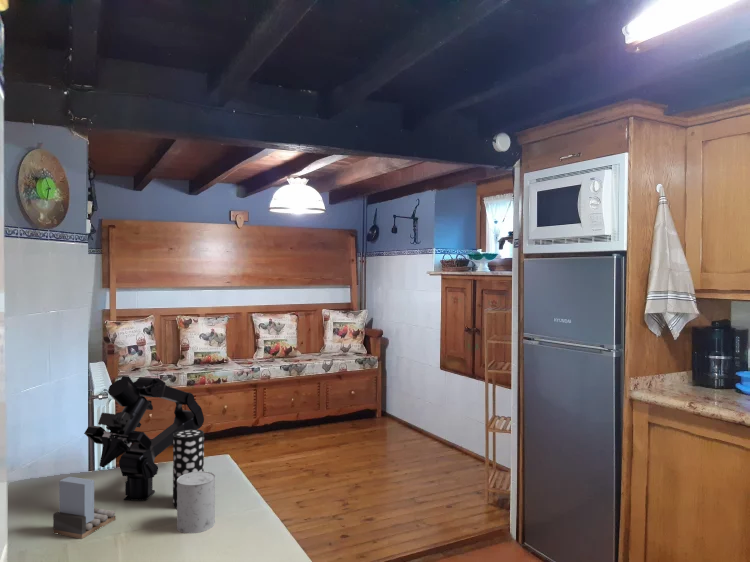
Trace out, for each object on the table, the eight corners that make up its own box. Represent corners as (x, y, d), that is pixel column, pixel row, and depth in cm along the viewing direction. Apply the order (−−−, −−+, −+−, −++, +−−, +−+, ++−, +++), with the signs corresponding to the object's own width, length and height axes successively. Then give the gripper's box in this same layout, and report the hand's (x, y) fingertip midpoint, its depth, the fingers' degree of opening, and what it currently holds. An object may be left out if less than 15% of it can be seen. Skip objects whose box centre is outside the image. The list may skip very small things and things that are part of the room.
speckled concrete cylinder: (179, 536, 135) (179, 487, 135) (174, 521, 143) (174, 474, 143) (218, 528, 139) (218, 481, 139) (211, 513, 148) (211, 469, 148)
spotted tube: (209, 499, 157) (209, 431, 157) (191, 511, 149) (191, 439, 149) (185, 495, 160) (186, 428, 160) (166, 506, 152) (166, 436, 152)
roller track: (88, 514, 146) (88, 496, 146) (115, 519, 144) (115, 500, 144) (53, 533, 136) (53, 513, 136) (81, 538, 133) (82, 518, 133)
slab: (69, 515, 140) (69, 476, 140) (94, 519, 137) (94, 480, 137) (59, 520, 137) (59, 480, 137) (84, 524, 135) (84, 484, 135)
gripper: (89, 397, 153) (56, 448, 142) (144, 403, 147) (114, 456, 137) (110, 417, 160) (80, 467, 150) (163, 424, 155) (135, 476, 144)
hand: (101, 466), depth 145 cm, fingers closed
